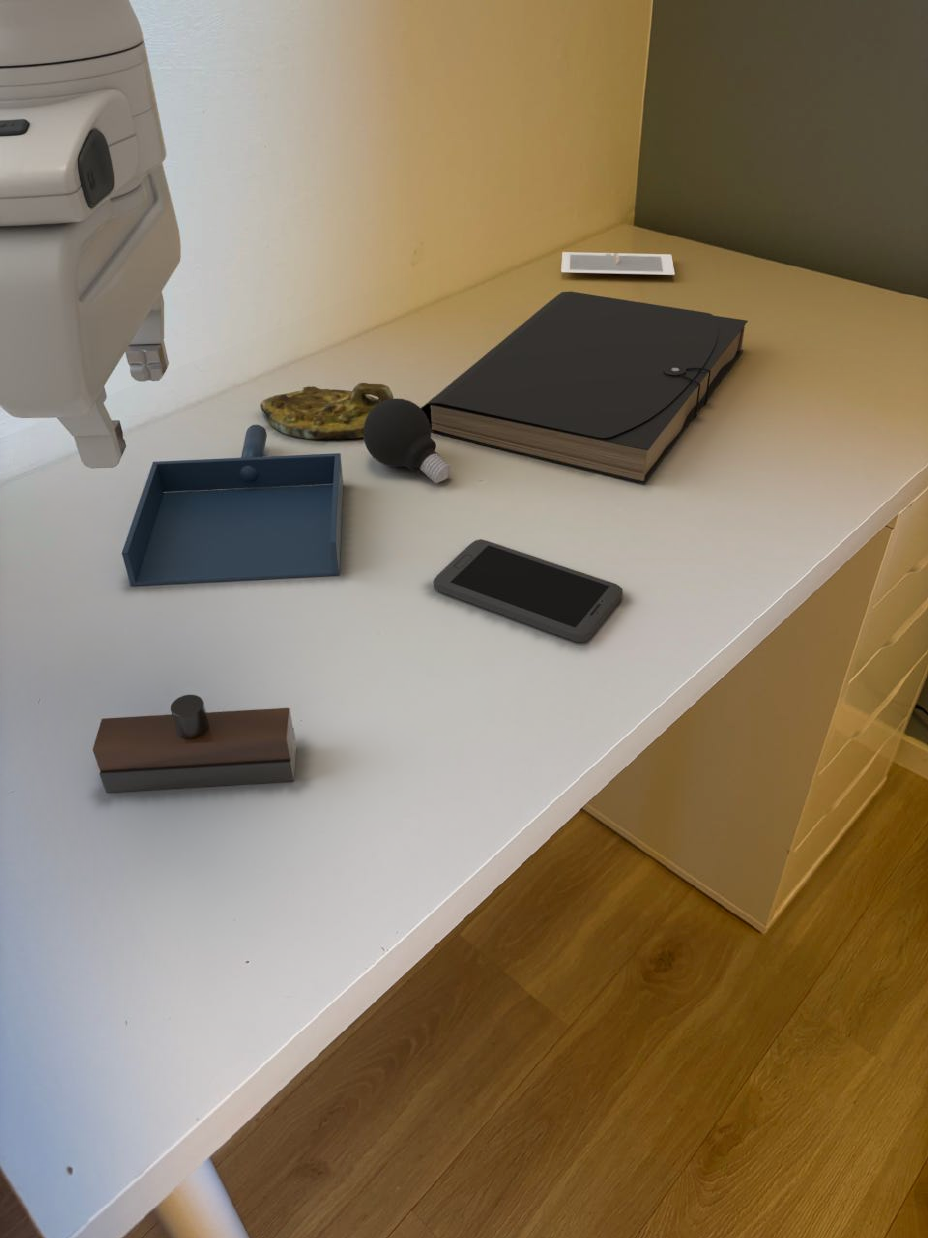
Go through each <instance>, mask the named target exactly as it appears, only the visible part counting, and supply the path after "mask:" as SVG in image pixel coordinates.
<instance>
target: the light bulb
mask: <svg viewBox="0 0 928 1238" xmlns="http://www.w3.org/2000/svg"><path fill="white" fill-rule="evenodd" d="M421 408H422V407H420V406H418V405H417V404H416V403H414V402H413V401H411V400H408V399H404V398H393V399H389V400H386V401H383V402H381V403H379V404H378V405H376V406H375V407H374V408H373V409H372V410H371V412H370V413H369V414H368V416H367V418H366V420H365V424H364V430H363V435H364V437H363V440H364V441H363V442H364V444H365V447H366V449H367V451H368V452H369V454H370V455H371V456H372V457H373V458H374V459H375V460H376V461H377V462H379V463H380V464H382V465H384V466H387V467H393V468H402V467H403V468H404V467H406V468H407V469H408V470H410V471H414V472H415V471H417V470H420V471H421V472H422V473H423V474H425V475H426V476H427V477H428V478H429V479H430V480H432V482H433V483H436V484H439V483H441V482H442V481H444V480H447V479H448V477H449V474H450V471H451V465H450V464H449V463H448V462H447V461H446V460H445V459H444V458H442V456H441V455H439V454H438V453H437V452H436V448H437V444H436V442H435V440H434V439H433V438H432V431H431V427H430V423H429V420H428V418H427V416H426V414H425V413H424V411H423V410H422V409H421Z"/></svg>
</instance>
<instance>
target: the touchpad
mask: <svg viewBox="0 0 928 1238" xmlns="http://www.w3.org/2000/svg"><path fill="white" fill-rule="evenodd" d="M561 252H562V253H561V254H562V256H561V265H560V266H561V267H560V272H561V273H572V274H573V273H574V274H575V273H576V274H577V273H578V274H619V275H658V276H659V275H660V276H661V275H663V276H665V275H666V276H675V275H676V274H675V268H674V263H673V257H672V254H668V253H625V252H622V253H619V252H579V251H578V252H575V251H573V252H572V251H571V252H570V251H561Z"/></svg>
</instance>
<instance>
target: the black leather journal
mask: <svg viewBox="0 0 928 1238" xmlns="http://www.w3.org/2000/svg"><path fill="white" fill-rule="evenodd" d="M748 322H749V321H748V320H746V319H740V318H733V317H726V316H720V315H713V314H712V313H710V312H704V311H700V310H699V311H698V310H693V309H686V308H679V307H672V306H667V305H660V304H654V303H648V302H640V301H634V300H629V299H621V298H615V297H610V296H603V295H597V294H590V293H584V292H578V291H577V292H576V291H561V292H560V293H558V294H557V295H556V296H554V297H553V298H552V299H550V300H549V301H548V302H547V303H545V304H544V305H543V306H542V307H541V308H540V309H538V310H537V311H536V312H534V314H532V315H531V316H530V317H529V318H528V319H527V320H525V321H524V322H523V323H522V324H521V325H519V326H518V327H517V328H516V329H514V330H513V331H512V332H511V333H510V334H508V335H506V337H505V338H504V339H503V340H501V341H500V342H499V343H498V344H496V345H495V346H494V347H493V348H492V349H490V350H489V351H488V352H486V354H484V355H483V356H482V357H480V359H478V360H477V361H475V363H473V364H472V365H471V366H470V367H469V368H468V369H466V370H465V371H464V372H463V373H462V374H460V375H459V376H458V377H457V378H455V379H454V380H453V381H452V382H450V383H449V384H448V385H447V386H445V387H444V388H443V389H442V390H441V391H440V392H438V393H437V394H436V395H435V396H434V397H433V398H431V399H430V400H429V401H427V402H426V403H425V404H424V405H423V406H422V407H420V408H421V409H422V410H423V411H424V413H425V414H426V416H427V418H428V420H429V423H430V427H431V433H434V434H436V435H439V436H444V437H448V438H452V439H457V440H461V441H464V442H469V443H474V444H476V445H477V444H478V445H482V446H486V447H491V448H494V449H499V450H502V451H507V452H511V453H515V454H520V455H524V456H528V457H532V458H536V459H541V460H544V461H549V462H554V463H558V464H562V465H565V466H569V467H573V468H579V469H583V470H587V471H590V472H595V473H599V474H604V475H607V476H612V477H616V478H620V479H624V480H628V481H634V482H636V483H641V484H646V483H647V482H648V480H649V478H650V477H651V476H652V475H653V473H654V472H655V471H656V469H657V468H658V466H659V465H660V464H661V462H662V461H663V460H664V458H665V457H666V456H667V454H668V453H669V452H670V450H672V447H673V446H674V445H675V443H676V442H677V441H678V439H679V438H680V437H681V435H682V434H683V432H684V431H685V430H686V429H687V427H688V426H689V424H691V422H692V421H693V420H694V419H697V415H698V412H699V411H700V410H701V409H702V407H703V406H704V405H707V402H708V399H709V398H710V396H711V395H712V394H713V392H714V391H715V389H716V388H717V387H718V385H719V384H720V382H721V381H722V380H723V379H724V377H725V376H726V375H727V373H728V372H729V370H730V369H731V368H732V367H733V365H734V364H735V362H737V360H738V359H739V357H740V355H742V353H743V352H744V349H743V341H744V335H745V328H746V327H745V326H746V324H748Z"/></svg>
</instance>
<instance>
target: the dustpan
mask: <svg viewBox="0 0 928 1238" xmlns="http://www.w3.org/2000/svg"><path fill="white" fill-rule="evenodd" d="M267 438H268V433H267V431H266V429H265V428H264V426H262V425H260V424H252V425H250V426H249V427H248V428H247V429H246V432H245V436H244V441H243V446H242V451H241V455H240V457H227V458H223V457H222V458H205V459H203V458H202V459H185V460H183V459H182V460H181V459H180V460H160V461H153V462H152V464H151V467H150V469H149V472H148V475H147V478H146V481H145V484H144V487H143V490H142V493H141V496H140V499H139V501H138V504H137V507H136V510H135V513H134V516H133V519H132V522H131V524H130V527H129V530H128V533H127V536H126V539H125V542H124V545H123V548H122V551H121V556H122V559H123V560H122V561H123V563H124V566H125V567H124V568H125V570H126V574H127V577H128V581H129V585H130V586H131V587H140V586H157V585H175V584H176V585H177V584H178V585H179V584H194V583H195V584H196V583H213V582H234V581H236V582H237V581H252V580H253V581H254V580H270V579H271V580H272V579H274V580H275V579H291V578H309V577H310V578H312V577H330V576H331V577H332V576H340V572H341V571H340V569H341V551H342V550H341V548H342V547H341V546H342V524H343V507H344V506H343V503H344V475H343V466H342V455H341V454H342V453H341V452H333V453H332V452H331V453H313V454H311V453H310V454H289V455H270V456H269V455H268V456H265V450H266V443H267Z"/></svg>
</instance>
